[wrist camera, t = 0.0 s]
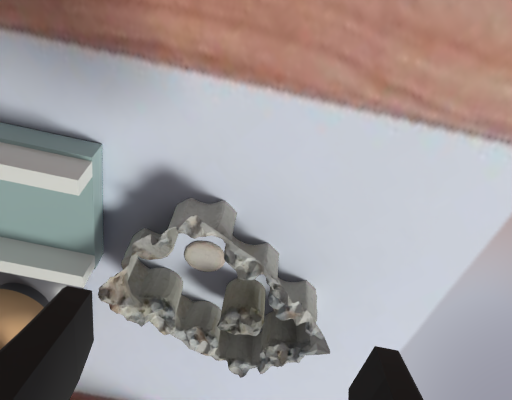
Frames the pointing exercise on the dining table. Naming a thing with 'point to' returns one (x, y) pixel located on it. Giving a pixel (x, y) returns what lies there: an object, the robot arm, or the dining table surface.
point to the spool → (22, 302)
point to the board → (50, 205)
